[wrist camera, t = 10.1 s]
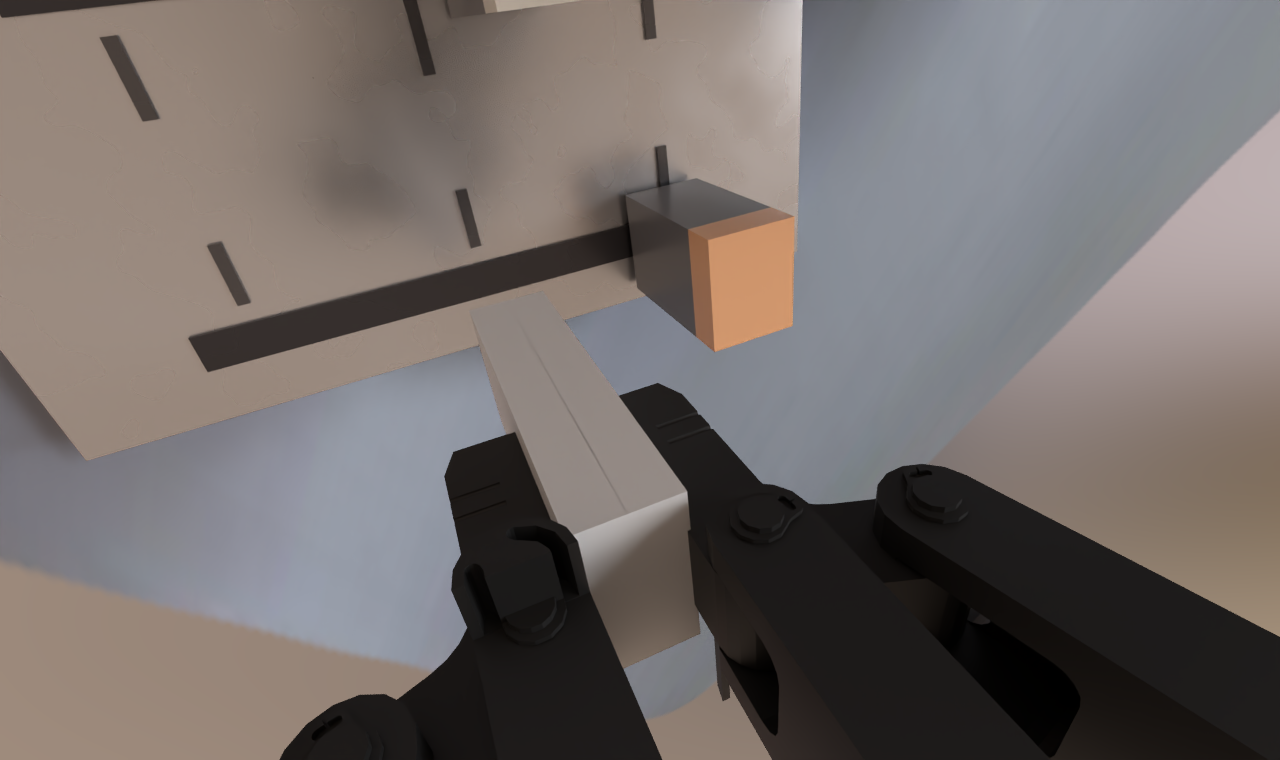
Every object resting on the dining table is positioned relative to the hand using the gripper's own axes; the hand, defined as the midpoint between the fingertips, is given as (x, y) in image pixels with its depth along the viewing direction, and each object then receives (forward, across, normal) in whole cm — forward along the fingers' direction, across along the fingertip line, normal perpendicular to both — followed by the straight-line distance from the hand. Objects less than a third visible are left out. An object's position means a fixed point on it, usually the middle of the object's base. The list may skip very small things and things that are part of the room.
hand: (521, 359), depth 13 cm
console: (+8, 0, +4) cm, 9 cm away
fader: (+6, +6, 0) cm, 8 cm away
